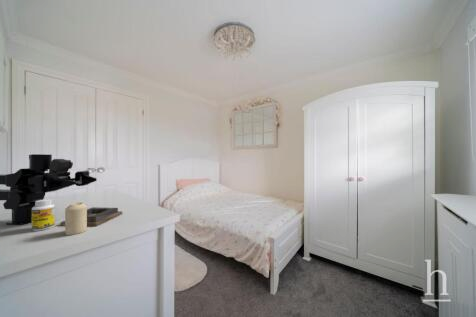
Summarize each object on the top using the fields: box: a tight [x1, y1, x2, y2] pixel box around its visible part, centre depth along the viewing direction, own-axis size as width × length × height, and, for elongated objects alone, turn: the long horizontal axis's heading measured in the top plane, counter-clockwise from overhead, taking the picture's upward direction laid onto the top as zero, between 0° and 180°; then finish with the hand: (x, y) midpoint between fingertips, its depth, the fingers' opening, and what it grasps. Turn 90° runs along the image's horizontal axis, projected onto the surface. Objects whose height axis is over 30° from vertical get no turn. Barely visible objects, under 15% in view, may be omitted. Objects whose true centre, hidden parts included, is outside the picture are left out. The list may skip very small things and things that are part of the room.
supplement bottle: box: [31, 198, 56, 232], centre depth 63 cm, size 6×6×10 cm
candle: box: [64, 202, 88, 236], centre depth 61 cm, size 6×6×10 cm
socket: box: [60, 207, 123, 227], centre depth 73 cm, size 14×14×3 cm
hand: (86, 181), depth 69 cm, fingers open, 9 cm apart
